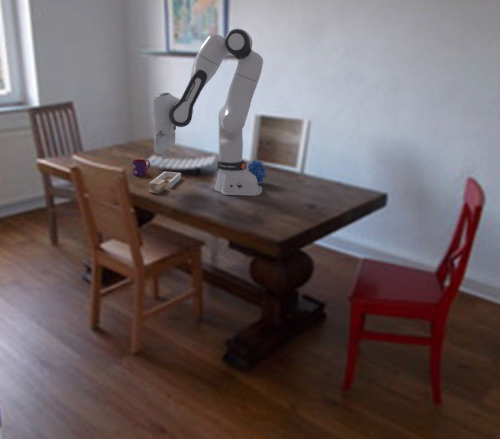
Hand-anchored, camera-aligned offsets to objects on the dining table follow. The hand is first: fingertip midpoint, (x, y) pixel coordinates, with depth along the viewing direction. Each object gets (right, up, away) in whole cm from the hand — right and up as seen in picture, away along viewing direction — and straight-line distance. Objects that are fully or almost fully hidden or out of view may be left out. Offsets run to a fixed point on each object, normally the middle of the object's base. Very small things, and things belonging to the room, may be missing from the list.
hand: (165, 158), depth 259 cm
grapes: (+43, -11, +12) cm, 46 cm away
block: (-3, -15, -3) cm, 16 cm away
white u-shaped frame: (0, -11, +9) cm, 14 cm away
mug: (-15, -5, +22) cm, 27 cm away
